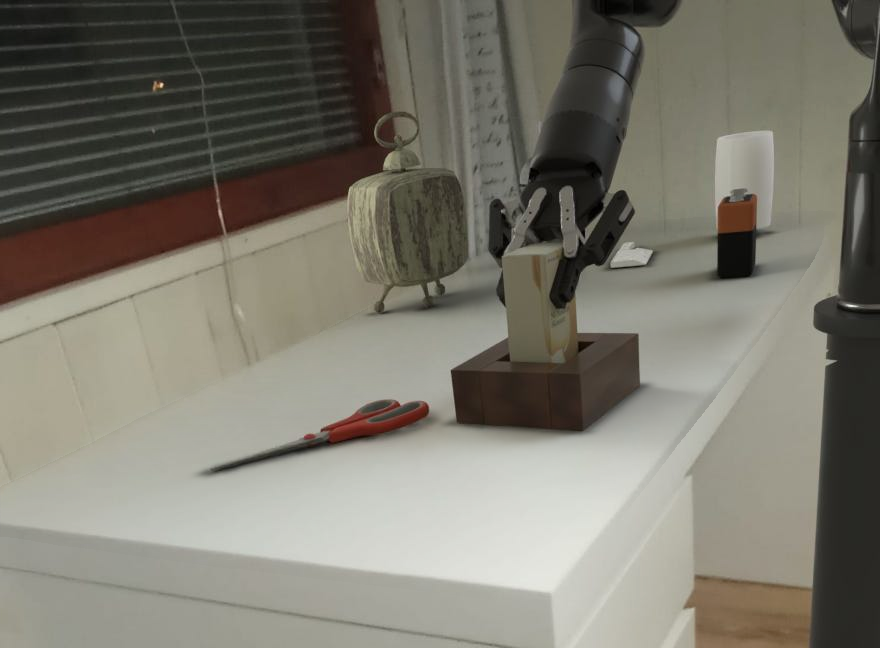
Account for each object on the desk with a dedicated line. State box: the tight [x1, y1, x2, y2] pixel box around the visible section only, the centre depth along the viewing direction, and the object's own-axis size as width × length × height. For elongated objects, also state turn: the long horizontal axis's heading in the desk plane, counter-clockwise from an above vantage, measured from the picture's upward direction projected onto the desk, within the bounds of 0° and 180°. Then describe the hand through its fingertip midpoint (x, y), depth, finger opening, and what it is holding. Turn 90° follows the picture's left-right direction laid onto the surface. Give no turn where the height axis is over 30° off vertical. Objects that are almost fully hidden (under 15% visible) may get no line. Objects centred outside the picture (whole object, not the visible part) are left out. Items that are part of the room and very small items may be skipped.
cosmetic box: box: [502, 241, 578, 363], centre depth 90 cm, size 6×4×12 cm
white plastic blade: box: [610, 241, 654, 269], centre depth 150 cm, size 5×15×1 cm, turn 161°
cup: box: [714, 130, 775, 231], centre depth 150 cm, size 8×8×14 cm
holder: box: [450, 332, 641, 432], centre depth 92 cm, size 13×13×5 cm
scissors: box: [210, 398, 430, 471], centre depth 92 cm, size 8×21×2 cm, turn 126°
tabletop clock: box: [346, 111, 469, 314], centre depth 135 cm, size 14×9×25 cm, turn 123°
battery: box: [716, 188, 757, 279], centre depth 129 cm, size 4×7×10 cm, turn 159°
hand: (531, 303), depth 88 cm, fingers closed on cosmetic box, 4 cm apart
